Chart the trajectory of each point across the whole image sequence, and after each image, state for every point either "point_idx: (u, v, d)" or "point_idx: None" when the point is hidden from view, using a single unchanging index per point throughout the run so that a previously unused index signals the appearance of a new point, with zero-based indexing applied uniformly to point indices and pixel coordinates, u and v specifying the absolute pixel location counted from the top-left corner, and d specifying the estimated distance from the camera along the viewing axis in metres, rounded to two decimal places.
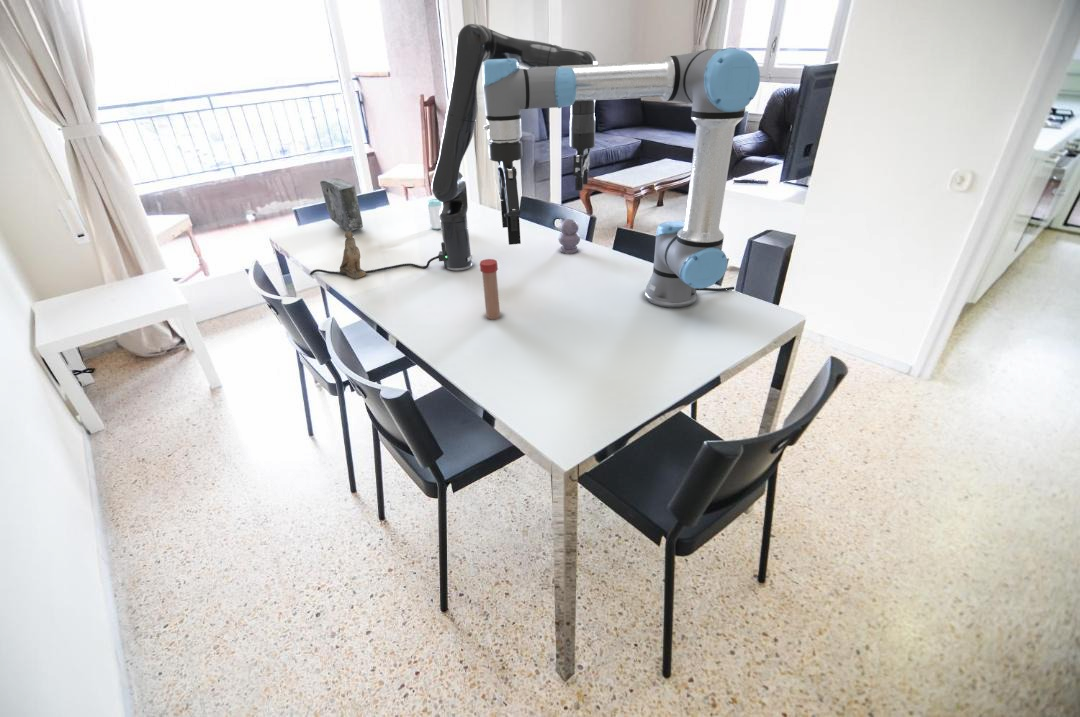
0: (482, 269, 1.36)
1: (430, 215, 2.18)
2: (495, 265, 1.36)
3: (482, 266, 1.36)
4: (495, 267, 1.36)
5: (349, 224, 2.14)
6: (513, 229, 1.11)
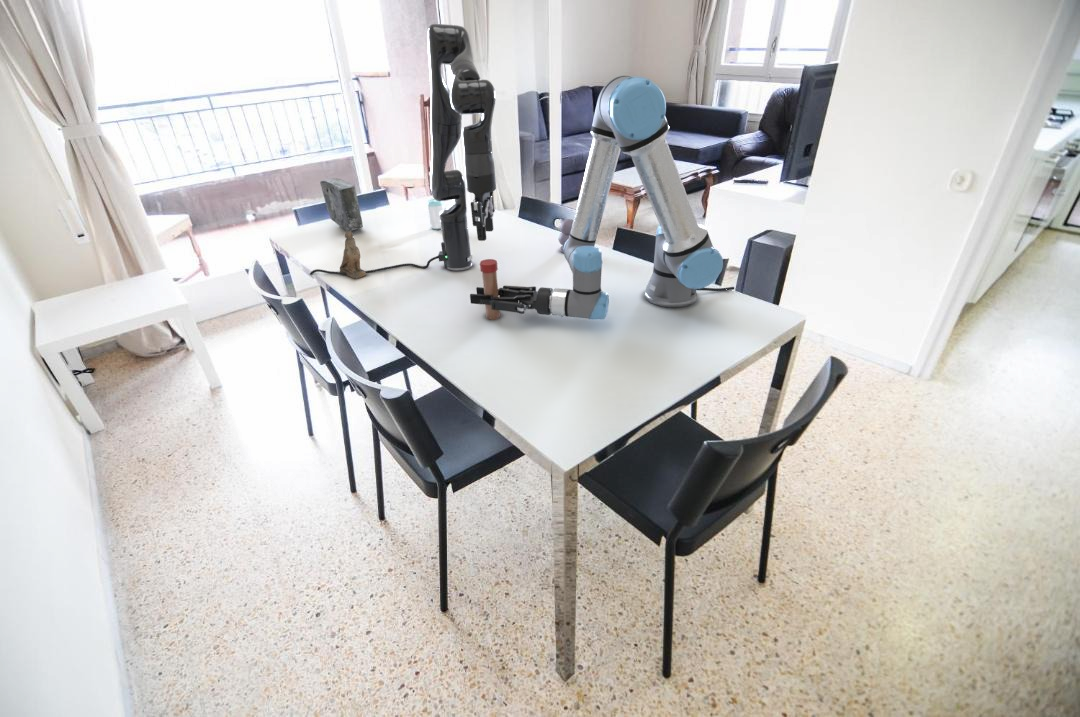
0: (482, 269, 1.36)
1: (430, 215, 2.18)
2: (495, 265, 1.36)
3: (482, 266, 1.36)
4: (495, 267, 1.36)
5: (349, 224, 2.14)
6: None
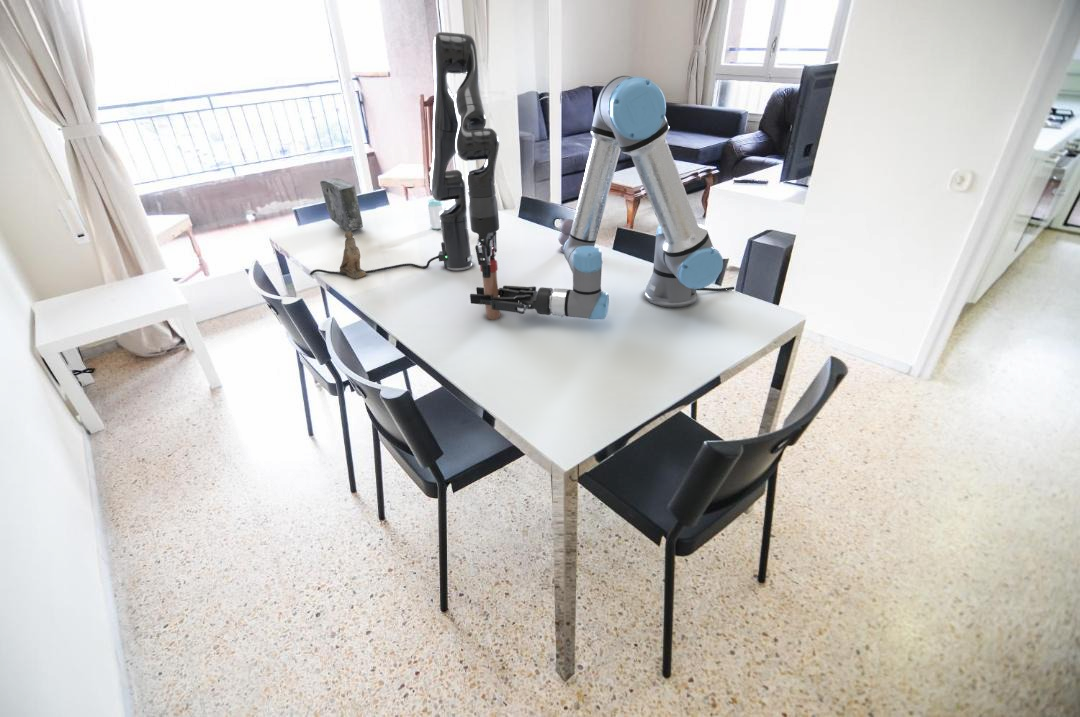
0: None
1: (430, 215, 2.18)
2: (495, 265, 1.36)
3: None
4: (495, 267, 1.36)
5: (349, 224, 2.14)
6: None
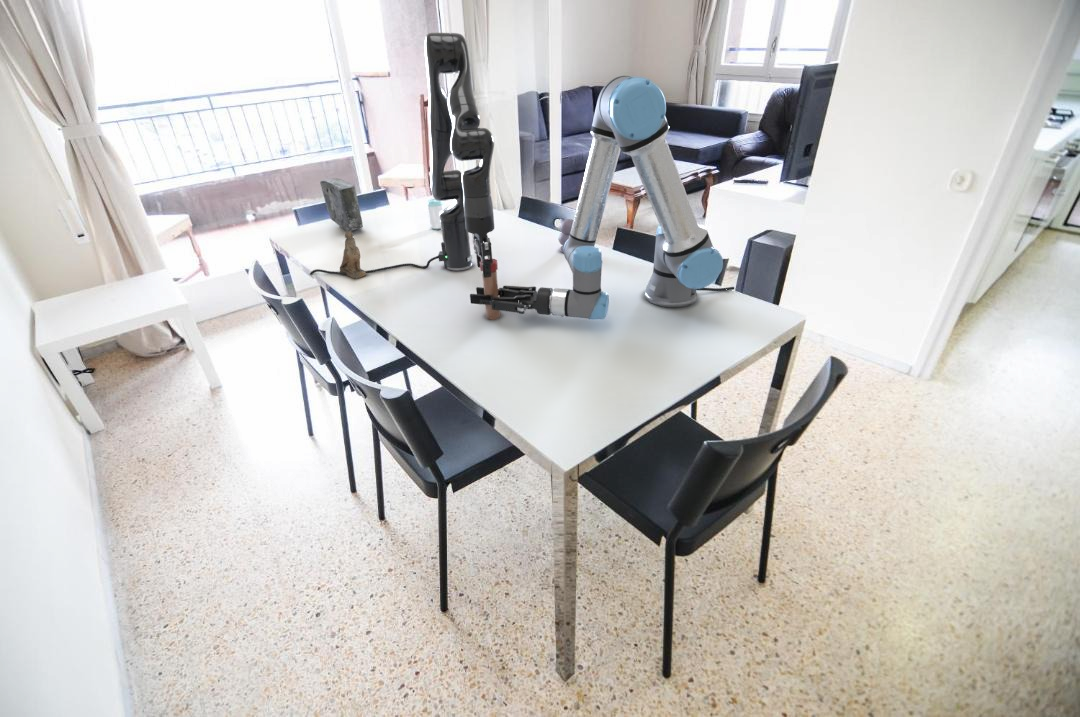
0: (494, 268, 1.36)
1: (430, 215, 2.18)
2: None
3: (494, 264, 1.36)
4: None
5: (349, 224, 2.14)
6: None
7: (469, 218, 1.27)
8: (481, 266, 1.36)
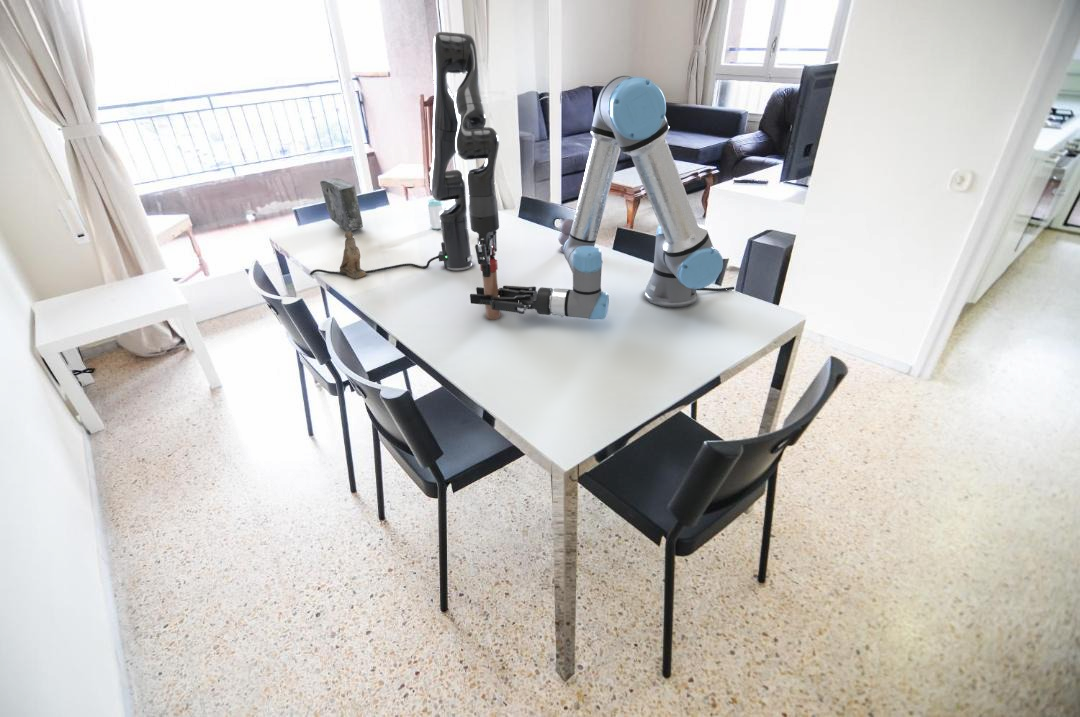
0: (494, 268, 1.36)
1: (430, 215, 2.18)
2: None
3: (494, 264, 1.36)
4: None
5: (349, 224, 2.14)
6: None
7: (470, 216, 1.28)
8: (481, 266, 1.36)
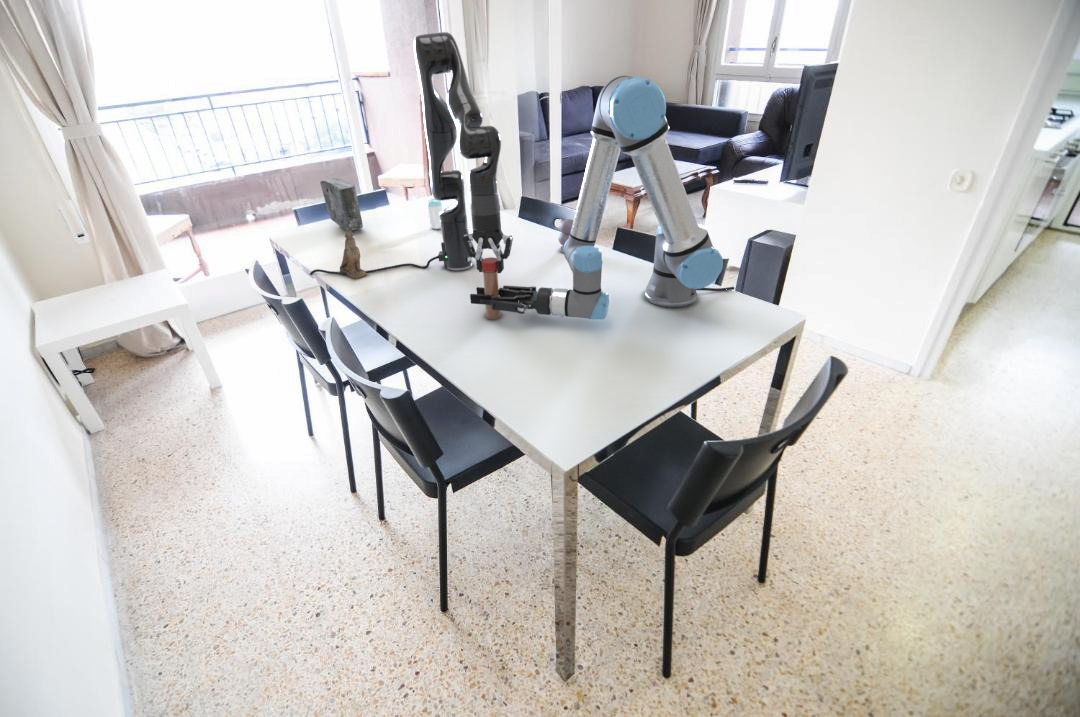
0: None
1: (430, 215, 2.18)
2: None
3: None
4: None
5: (349, 224, 2.14)
6: None
7: (490, 216, 1.27)
8: (494, 265, 1.36)
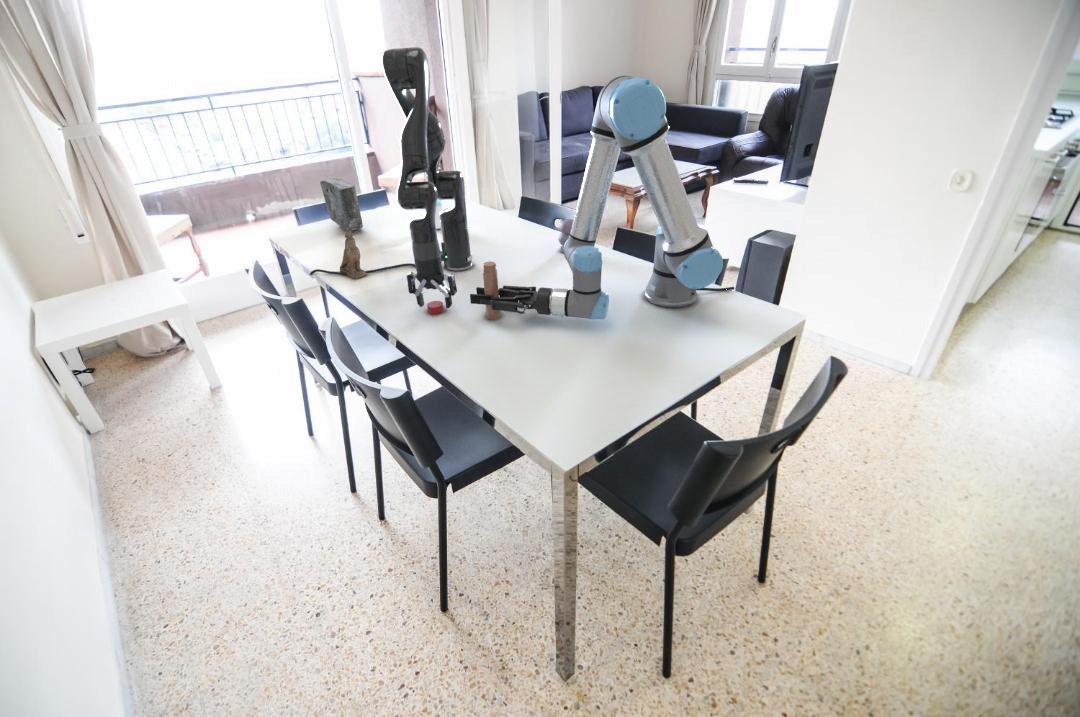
0: None
1: None
2: None
3: None
4: None
5: (349, 224, 2.14)
6: None
7: (431, 261, 1.38)
8: (439, 309, 1.48)
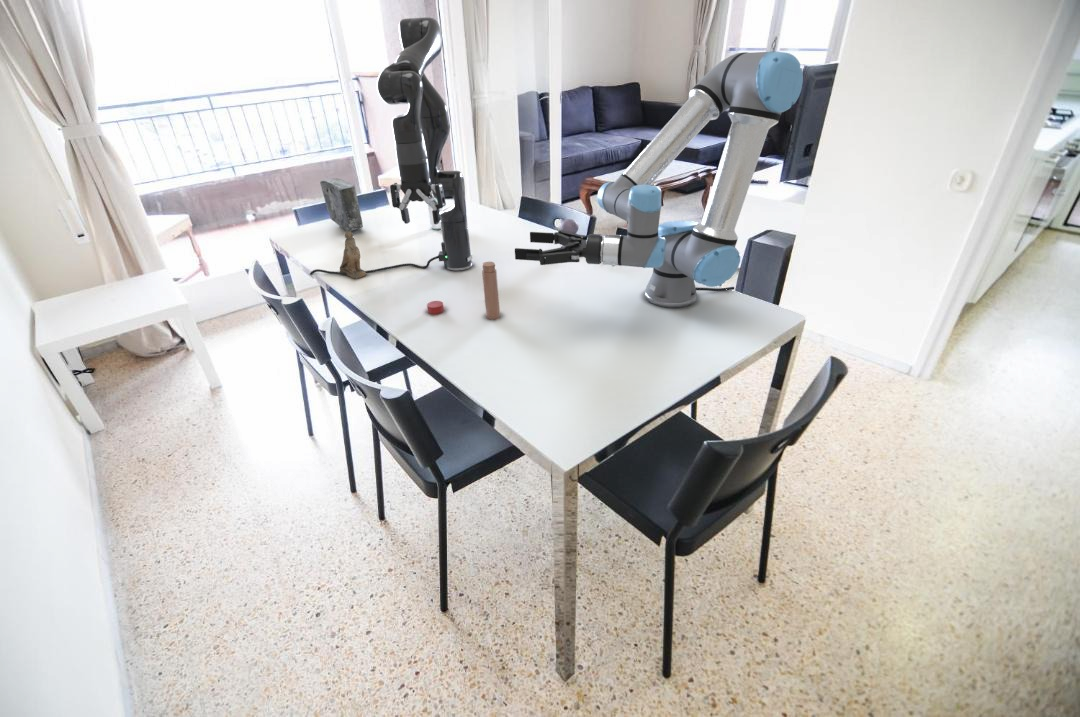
0: None
1: (430, 215, 2.18)
2: None
3: None
4: None
5: (349, 224, 2.14)
6: None
7: (416, 165, 1.25)
8: (439, 309, 1.48)
